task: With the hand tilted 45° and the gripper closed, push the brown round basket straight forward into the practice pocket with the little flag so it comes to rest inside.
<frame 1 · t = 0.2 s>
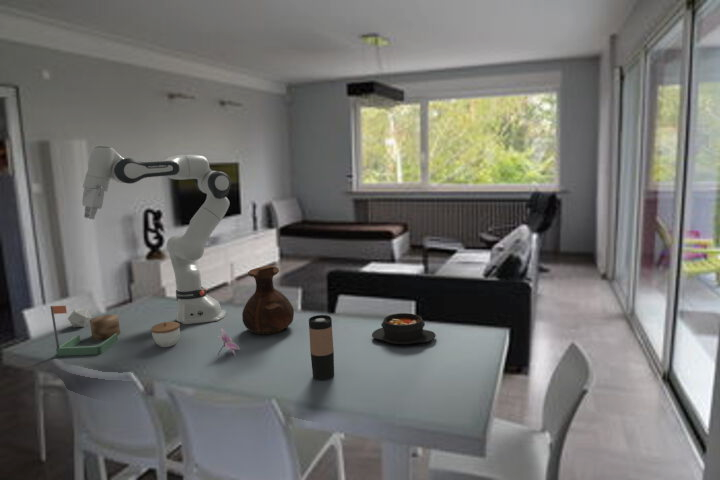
hand: (88, 218, 204), 51 cm above the table, tool tilted 20°, fingers open, 8 cm apart
travel mug: (323, 376, 168), on the table
jug: (269, 330, 215), on the table
white faceted block: (81, 326, 232), on the table
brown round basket: (106, 335, 218), on the table
practice pocket: (89, 347, 204), on the table
lidded jar: (167, 344, 204), on the table
casserole: (403, 339, 197), on the table
lily: (228, 353, 191), on the table
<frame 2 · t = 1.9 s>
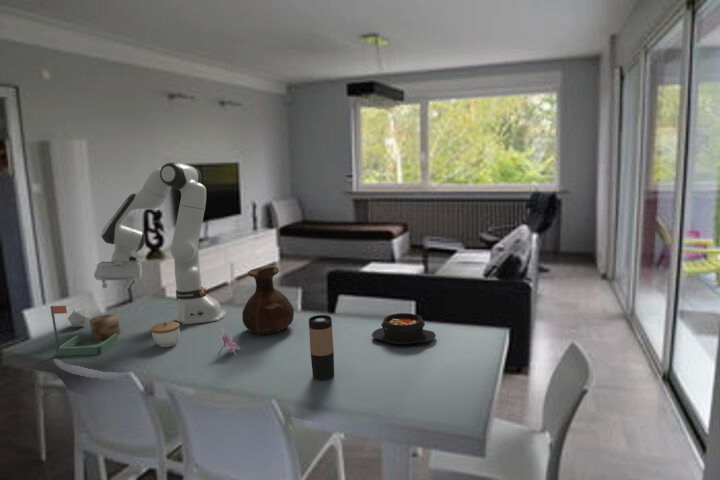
hand: (115, 287, 229), 17 cm above the table, tool tilted 45°, fingers open, 8 cm apart
nothing on the table moved.
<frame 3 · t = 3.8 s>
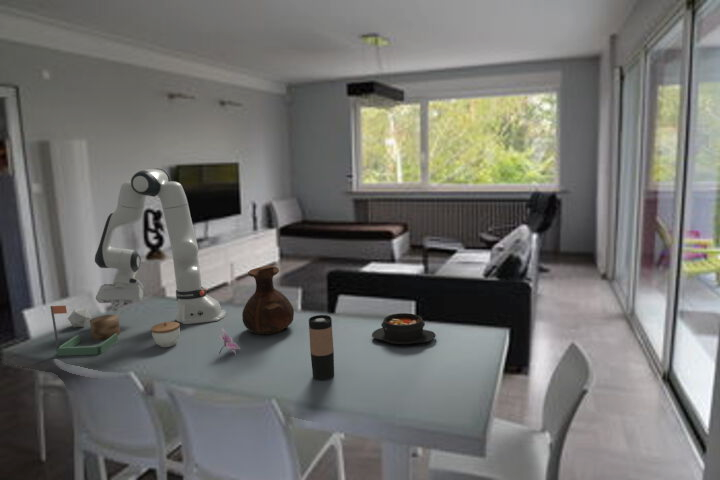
hand: (115, 310, 228), 8 cm above the table, tool tilted 45°, fingers closed
nothing on the table moved.
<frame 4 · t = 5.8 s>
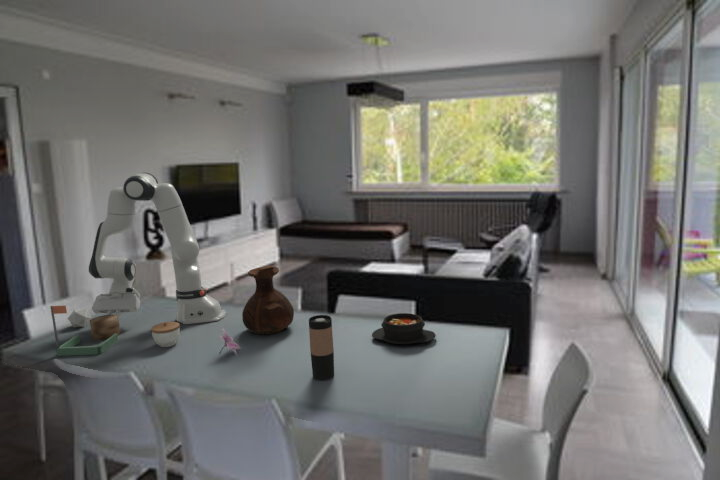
hand: (112, 320, 223), 4 cm above the table, tool tilted 45°, fingers closed, pressing on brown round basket
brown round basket: (106, 335, 218), on the table, touching gripper
everything else where it was.
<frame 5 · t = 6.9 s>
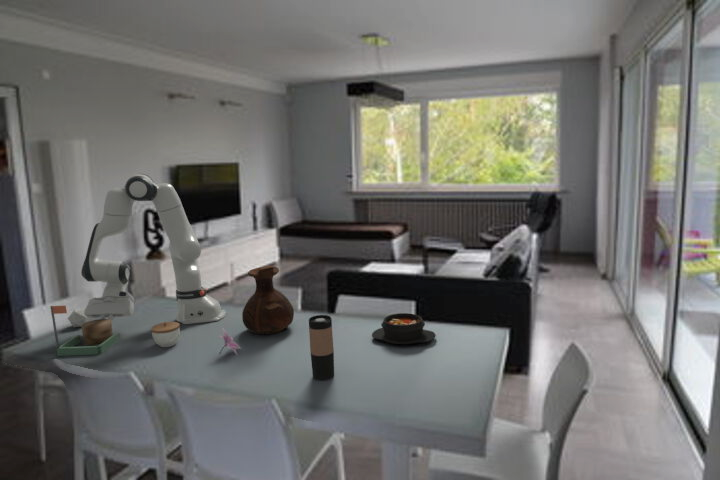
hand: (104, 325, 217), 4 cm above the table, tool tilted 45°, fingers closed, pressing on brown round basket
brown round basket: (98, 340, 212), on the table, touching gripper
everything else where it was.
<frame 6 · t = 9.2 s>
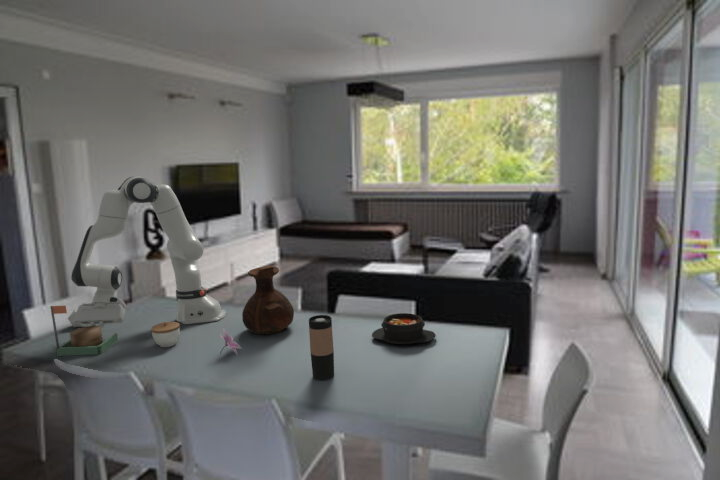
hand: (94, 332, 209), 4 cm above the table, tool tilted 45°, fingers closed, pressing on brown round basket
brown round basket: (88, 348, 203), on the table, touching gripper
everything else where it was.
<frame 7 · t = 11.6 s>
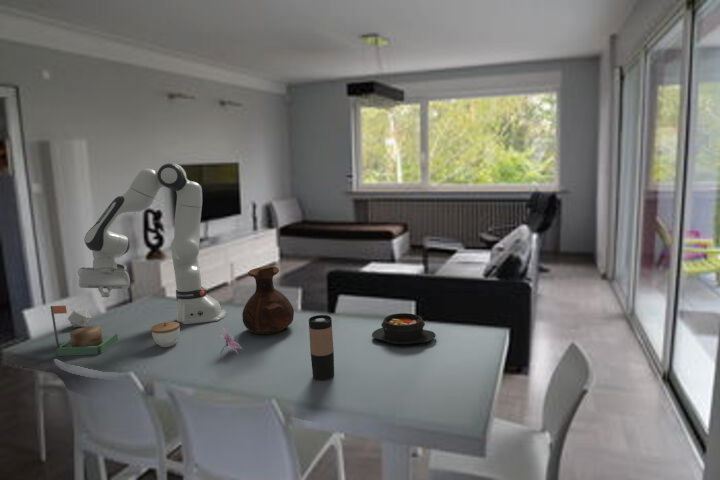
hand: (105, 296, 218), 16 cm above the table, tool tilted 40°, fingers closed
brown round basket: (88, 348, 203), on the table
everything else where it was.
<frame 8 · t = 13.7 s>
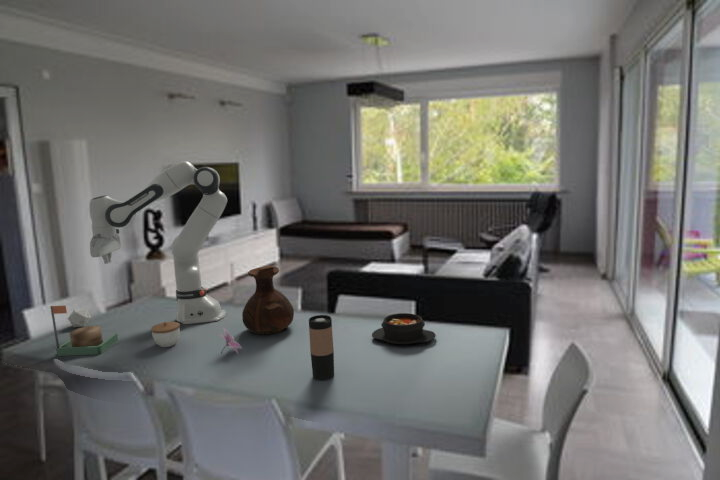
hand: (107, 263, 226), 29 cm above the table, tool pointing down, fingers closed
at the end: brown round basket inside the target area on the practice pocket (1.4 cm from its centre), point 0.0 cm above the practice pocket's base; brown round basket tilted 0°; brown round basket moved 14.7 cm from its start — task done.
